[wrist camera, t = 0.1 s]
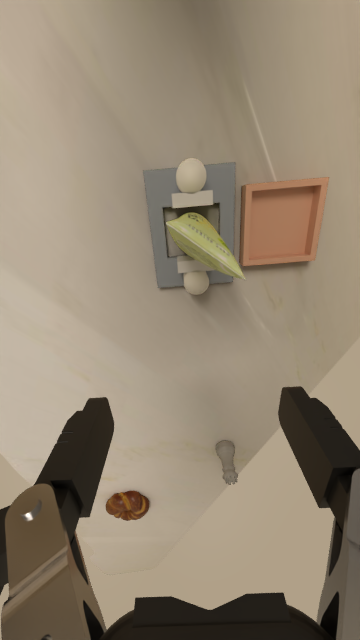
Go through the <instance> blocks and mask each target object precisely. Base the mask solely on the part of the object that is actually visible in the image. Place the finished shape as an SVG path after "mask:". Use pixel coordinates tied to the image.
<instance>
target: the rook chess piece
mask: <svg viewBox="0 0 360 640" xmlns="http://www.w3.org/2000/svg"><path fill="white" fill-rule="evenodd" d="M216 453H217V455H218V456H219V458H220V459H221V461H222V465H223V472H224V475H223V479H224V480H225V482H226V483H228V484H229V485H231V482H233V484H235V482H237V477H238V474H237V473H236V472H235V467H234V464H233V456H234V453H235V450H234V445H233V444H232V443H231V442H229V441H221V442H219V443H218V444H217V445H216Z"/></svg>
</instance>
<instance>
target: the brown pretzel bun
mask: <svg viewBox="0 0 360 640" xmlns="http://www.w3.org/2000/svg"><path fill="white" fill-rule="evenodd" d="M148 509H149V501H148V499H147V498H146V497H145V496H142V495H141V494H140V493H139V492H136V491H128V492H125V493H122V492H121V493H120V494H114V495H113V496H112V497H111V499H109V500H108V501H107V503H106V511H107V512H108V513H109V514H111V515H114V517H116V518H120V517H121V519H123V520H126V521H128V520H137V519H140V518H141V517H143V516H144V515H145V514H146V513H147V511H148Z"/></svg>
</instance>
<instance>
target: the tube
mask: <svg viewBox="0 0 360 640" xmlns="http://www.w3.org/2000/svg"><path fill="white" fill-rule="evenodd" d="M166 225H167V227H168V230H169V232H170V234H171V236H172V238H173V240H174V241H175V243H176V244H177V245H178V247H179V248H180V249H181V250H182V251H183V252H185V253H186V254H187V255H189V256H191V257H192V258H194V259H195V260H197V261H199V262H201V263H203V264H205V265H207V266H208V267H210V268H212V269H214V270H217V271H219V272H221V273H224V274H227V275H230V276H233V277H236V278H240V279H244V280H246V278H245V277H244V275H243V273H242V271H241V269H240V267H239V265H238V263H237V261H236V260H235V258H234V256H233V255H232V253H231V251H230V250H229V248H228V247H227V245H226V244H225V242H224V241H223V239H222V238H221V237H220V235H219V234H218V232H217V231H216V230H215V228H214V227H213V226H212V225H211V224H210V223H209V221H208V220H206V219H205V218H204V217H203V216H201V215H200V214H198V213H195V212H188V213H185V214H183V215H181V216H180V217H179V218H178V219H175V220H171V221H167V222H166Z"/></svg>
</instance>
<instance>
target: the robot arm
mask: <svg viewBox="0 0 360 640" xmlns="http://www.w3.org/2000/svg"><path fill="white" fill-rule="evenodd" d="M278 415H279V421H280V425H281V427H282V429H283V431H284V433H285V436H286V438H287V440H288V442H289V444H290V446H291V449H292V451H293V453H294V455H295V457H296V459H297V461H298V464H299V466H300V468H301V470H302V472H303V475H304V477H305V479H306V481H307V483H308V485H309V487H310V490H311V491H312V493H313V496H314V498H315V500H316V502H317V505H318V507H319V508H331V510H332V512H333V514H334V516H335V518H334V521H333V528H332V536H331V543H330V550H329V557H328V564H327V571H326V578H325V583H324V587H323V590H322V594H321V599H320V603H319V609H318V616H317V622H315V621H314V620H313V619H312V618H310V617H308V616H307V615H306V614H304V613H303V612H301V611H299V610H297V609H296V608H294V607H292V606H289V605H287V604H286V601H285V597H284V593H259V594H245V595H243V596H241V597H239V598H237V599H235V600H232V601H230V602H228V603H226V604H224V605H222V606H219V607H217V608H215V609H213V610H207V609H204V608H201V607H198V606H196V605H193V604H190V603H187V602H185V601H182V600H179V599H177V598H174V597H143V598H135V608H134V610H132V611H130V612H128V613H127V614H125V615H124V616H122V617H121V618H119V619H118V620H117V621H116V622H115V623H114V624H113V625H111V626H110V627H109V629H108V630H106V626H105V623H104V620H103V617H102V613H101V610H100V607H99V605H98V602H97V599H96V597H95V595H94V592H93V589H92V586H91V583H90V579H89V576H88V572H87V569H86V565H85V562H84V558H83V556H82V552H81V548H80V545H79V541H78V538H77V534H76V531H75V529H76V526H77V523H78V520H79V518H81V517H90V513H91V510H92V506H93V503H94V499H95V496H96V492H97V489H98V485H99V482H100V478H101V475H102V471H103V468H104V464H105V461H106V457H107V454H108V450H109V447H110V443H111V440H112V436H113V432H114V420H113V416H112V413H111V409H110V406H109V402H108V399H107V398H106V397H102V398H89V399H88V401H87V403H86V405H85V407H84V409H83V411H76V413H75V414H74V415H73V416H72V417H71V418H70V419H69V420H68V421H67V423H66V425H65V427H64V429H63V431H62V434H60V436H59V438H58V440H57V444H55V446H54V448H53V450H52V452H51V454H50V456H49V458H48V460H47V462H46V463H45V465H44V467H43V469H42V471H41V473H40V475H39V477H38V479H37V481H36V483H35V484H34V486H32V487H30V488H28V489H26V490H25V491H24V492H22V493H21V494H20V495H19V496H18V497H17V498H16V499H15V500H14V502H13V503H12V504H11V505H10V506H8V507H5V508H3V509H1V510H0V594H1V592H2V590H3V587H4V585H5V584H7V583H9V597H8V600H7V601H6V602H5V603H4V605H3V607H2V613H1V632H2V640H360V450H359V449H358V447H357V446H356V445H355V443H354V442H353V441H352V440H351V438H350V437H349V435H348V434H347V433H346V431H345V430H344V429H343V428H342V426H341V424H340V423H339V422H338V420H336V419H335V416H334V415H333V414H332V412H331V411H330V410H329V408H328V407H327V406H326V405H324V404H323V403H322V402H320V401H319V400H318V399H317V398H310V397H309V396H308V394H307V393H306V392H305V390H304V389H303V388H302V387H300V386H299V387H284V388H282V392H281V398H280V405H279V411H278Z"/></svg>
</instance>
